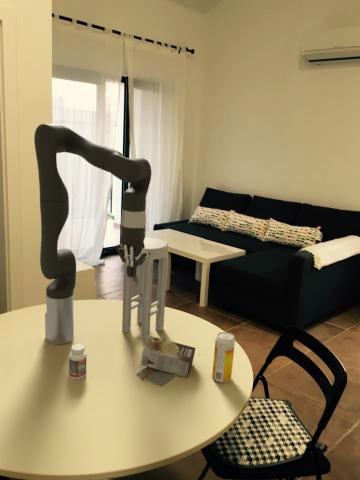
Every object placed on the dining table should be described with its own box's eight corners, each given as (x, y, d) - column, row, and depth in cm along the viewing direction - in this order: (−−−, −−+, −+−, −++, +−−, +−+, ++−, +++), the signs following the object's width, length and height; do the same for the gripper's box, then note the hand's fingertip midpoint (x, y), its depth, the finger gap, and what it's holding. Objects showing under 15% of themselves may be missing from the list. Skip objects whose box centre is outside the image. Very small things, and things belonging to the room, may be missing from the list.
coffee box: (149, 334, 151) (196, 346, 150) (147, 350, 154) (192, 362, 152) (142, 349, 143) (191, 362, 141) (139, 366, 145) (188, 378, 143)
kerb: (140, 378, 141) (140, 375, 141) (167, 360, 152) (167, 357, 152) (143, 380, 141) (143, 376, 140) (169, 361, 152) (169, 358, 151)
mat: (136, 374, 143) (136, 373, 143) (159, 359, 153) (159, 358, 153) (161, 386, 138) (161, 385, 138) (183, 370, 148) (183, 369, 147)
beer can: (232, 375, 146) (237, 333, 142) (228, 385, 141) (232, 342, 136) (214, 371, 148) (218, 329, 144) (209, 380, 142) (213, 338, 138)
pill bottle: (80, 381, 138) (81, 352, 135) (65, 377, 140) (65, 349, 137) (89, 372, 143) (89, 344, 140) (74, 368, 145) (74, 341, 142)
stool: (170, 328, 175) (176, 242, 166) (147, 343, 163) (151, 251, 153) (139, 317, 183) (142, 234, 174) (114, 331, 171) (116, 242, 161)
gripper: (109, 221, 139) (108, 274, 144) (142, 230, 132) (140, 285, 137) (125, 218, 145) (123, 268, 150) (157, 225, 138) (155, 278, 143)
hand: (131, 276), depth 143 cm, fingers closed
